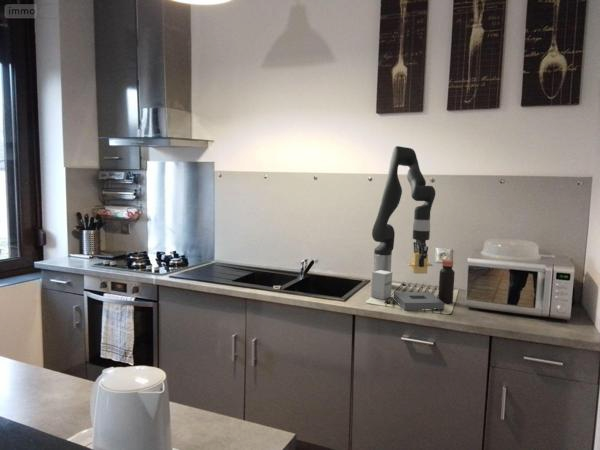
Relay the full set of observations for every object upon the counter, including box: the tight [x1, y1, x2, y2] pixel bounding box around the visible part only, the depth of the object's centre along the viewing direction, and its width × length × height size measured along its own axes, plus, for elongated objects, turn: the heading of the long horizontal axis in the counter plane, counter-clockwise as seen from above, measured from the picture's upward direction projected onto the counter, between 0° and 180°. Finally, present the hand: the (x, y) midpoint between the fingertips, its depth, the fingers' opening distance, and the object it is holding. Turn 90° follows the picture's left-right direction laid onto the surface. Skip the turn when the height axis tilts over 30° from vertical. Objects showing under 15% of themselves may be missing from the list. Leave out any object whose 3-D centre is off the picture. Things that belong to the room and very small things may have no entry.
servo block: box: [406, 252, 434, 275], centre depth 217 cm, size 4×11×10 cm, turn 94°
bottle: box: [437, 259, 456, 305], centre depth 224 cm, size 7×7×20 cm
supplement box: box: [370, 270, 393, 300], centre depth 231 cm, size 7×7×13 cm
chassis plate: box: [393, 291, 445, 311], centre depth 219 cm, size 18×18×4 cm
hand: (419, 265), depth 217 cm, fingers closed on servo block, 4 cm apart
